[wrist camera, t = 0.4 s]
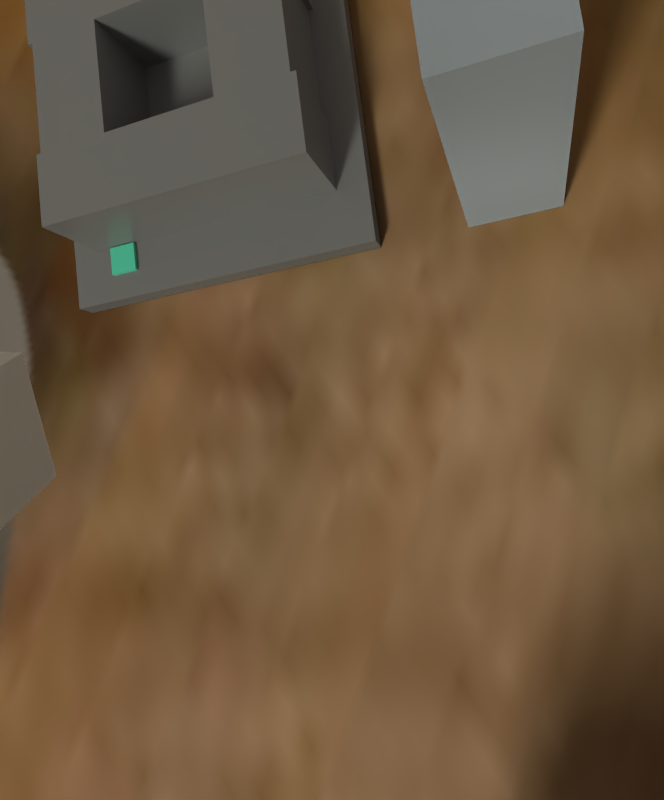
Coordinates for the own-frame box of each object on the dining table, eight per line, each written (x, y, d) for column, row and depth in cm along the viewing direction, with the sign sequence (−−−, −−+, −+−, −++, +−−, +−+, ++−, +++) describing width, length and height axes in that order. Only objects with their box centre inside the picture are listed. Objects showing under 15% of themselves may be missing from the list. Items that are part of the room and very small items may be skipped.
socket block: (380, 247, 29) (350, 209, 24) (92, 312, 34) (20, 291, 29) (333, -105, 31) (296, -205, 26) (66, 4, 36) (-6, -64, 31)
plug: (563, 205, 27) (584, 30, 15) (468, 227, 28) (421, 79, 16) (548, 117, 27) (557, -118, 16) (455, 142, 28) (401, -60, 17)
